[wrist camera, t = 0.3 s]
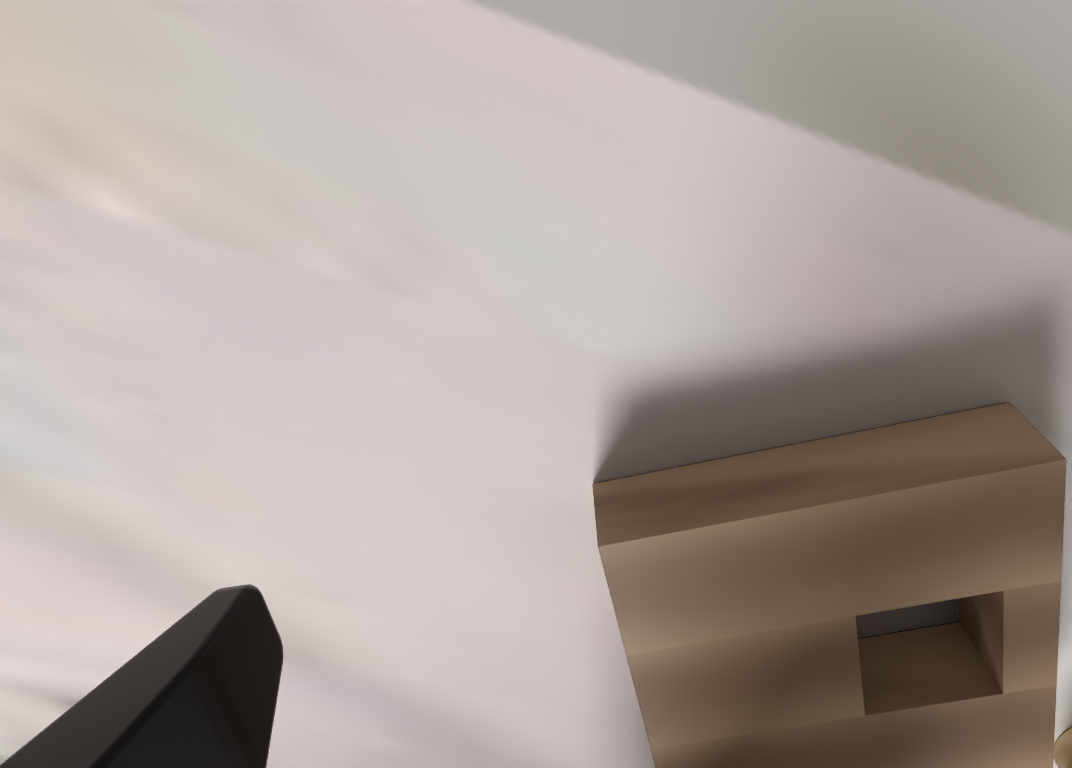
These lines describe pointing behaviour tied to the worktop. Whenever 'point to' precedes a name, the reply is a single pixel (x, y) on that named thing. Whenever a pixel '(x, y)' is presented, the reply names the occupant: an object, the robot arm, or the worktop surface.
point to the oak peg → (1063, 750)
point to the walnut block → (845, 598)
